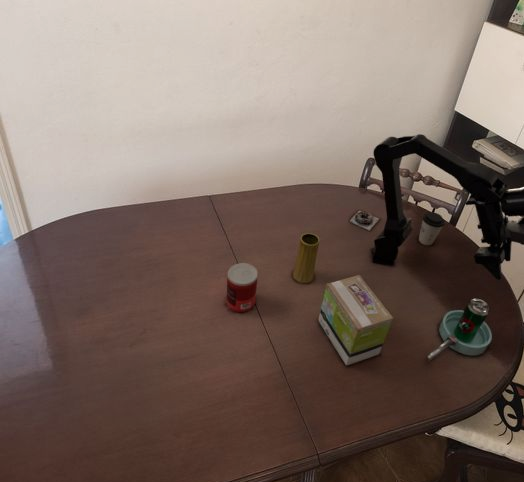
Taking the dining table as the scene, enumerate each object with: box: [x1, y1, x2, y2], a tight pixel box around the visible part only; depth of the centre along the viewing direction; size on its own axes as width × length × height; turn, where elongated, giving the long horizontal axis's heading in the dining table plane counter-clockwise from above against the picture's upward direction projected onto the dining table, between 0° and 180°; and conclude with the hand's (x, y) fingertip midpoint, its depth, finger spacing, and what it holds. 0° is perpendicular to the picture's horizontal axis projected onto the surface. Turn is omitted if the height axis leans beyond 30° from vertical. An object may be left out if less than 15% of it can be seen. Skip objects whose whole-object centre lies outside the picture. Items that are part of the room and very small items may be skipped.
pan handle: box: [425, 334, 458, 362], centre depth 114 cm, size 11×2×2 cm, turn 127°
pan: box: [438, 309, 493, 356], centre depth 121 cm, size 12×12×4 cm
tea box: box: [318, 274, 394, 366], centre depth 114 cm, size 15×10×15 cm
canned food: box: [225, 262, 259, 313], centre depth 121 cm, size 8×8×11 cm
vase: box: [292, 232, 320, 284], centre depth 130 cm, size 6×6×14 cm
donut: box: [349, 210, 380, 231], centre depth 158 cm, size 8×8×2 cm
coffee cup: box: [418, 212, 446, 246], centre depth 150 cm, size 7×7×10 cm
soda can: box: [454, 298, 490, 342], centre depth 118 cm, size 5×5×12 cm
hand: (503, 269), depth 121 cm, fingers open, 9 cm apart
